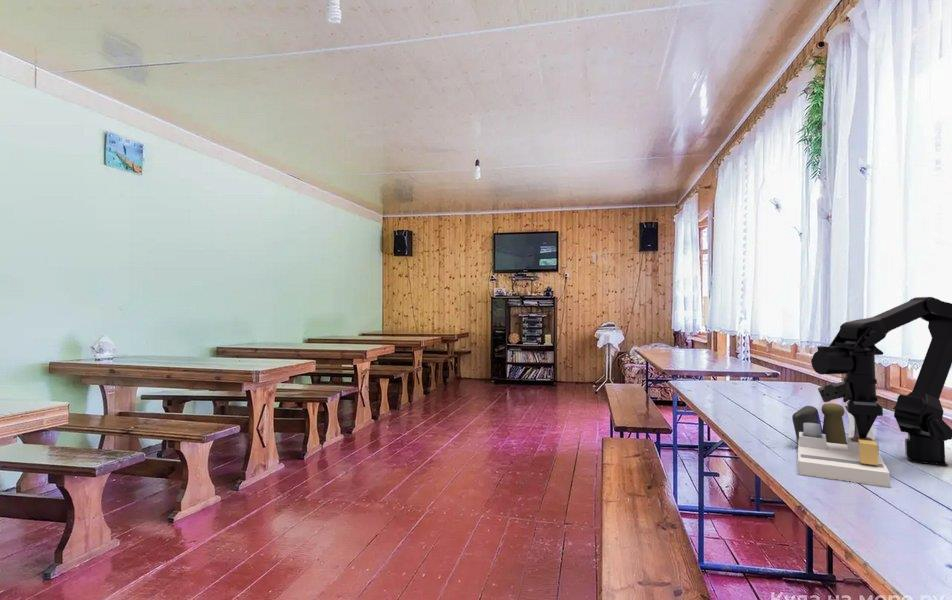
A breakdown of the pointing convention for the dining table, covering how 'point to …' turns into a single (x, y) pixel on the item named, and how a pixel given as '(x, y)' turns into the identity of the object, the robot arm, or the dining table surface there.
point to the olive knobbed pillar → (834, 423)
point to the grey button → (812, 430)
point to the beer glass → (853, 427)
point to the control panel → (838, 461)
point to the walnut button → (855, 438)
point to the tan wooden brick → (868, 452)
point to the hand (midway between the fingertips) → (862, 438)
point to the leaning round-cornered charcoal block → (805, 419)
